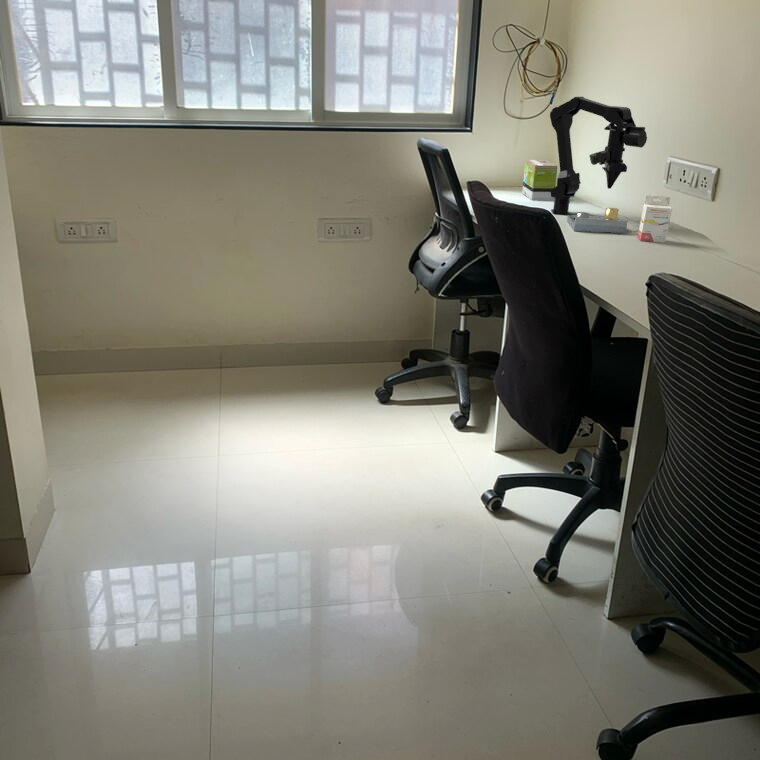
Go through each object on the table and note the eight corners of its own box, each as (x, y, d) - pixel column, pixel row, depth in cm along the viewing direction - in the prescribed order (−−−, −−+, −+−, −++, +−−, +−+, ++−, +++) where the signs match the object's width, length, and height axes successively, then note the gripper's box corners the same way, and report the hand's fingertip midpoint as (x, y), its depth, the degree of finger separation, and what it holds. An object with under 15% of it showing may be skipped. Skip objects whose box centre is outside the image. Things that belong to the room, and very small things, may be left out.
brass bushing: (614, 227, 283) (617, 208, 280) (616, 230, 279) (619, 210, 276) (601, 226, 283) (604, 207, 280) (604, 229, 279) (607, 209, 276)
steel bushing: (574, 225, 283) (576, 211, 281) (586, 225, 283) (588, 212, 281) (576, 227, 279) (578, 214, 277) (588, 228, 279) (590, 214, 277)
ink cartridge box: (640, 241, 264) (648, 197, 258) (637, 237, 268) (644, 194, 263) (666, 242, 263) (674, 198, 257) (662, 239, 268) (670, 196, 262)
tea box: (521, 194, 339) (524, 159, 333) (543, 194, 340) (547, 159, 335) (530, 200, 326) (535, 164, 320) (554, 201, 327) (558, 164, 321)
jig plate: (566, 221, 289) (568, 209, 287) (615, 224, 288) (617, 211, 286) (574, 231, 274) (575, 218, 272) (625, 233, 273) (627, 221, 272)
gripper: (588, 140, 288) (582, 183, 294) (598, 146, 271) (591, 191, 277) (618, 141, 287) (612, 184, 294) (630, 147, 270) (623, 193, 276)
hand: (609, 188), depth 285 cm, fingers closed
